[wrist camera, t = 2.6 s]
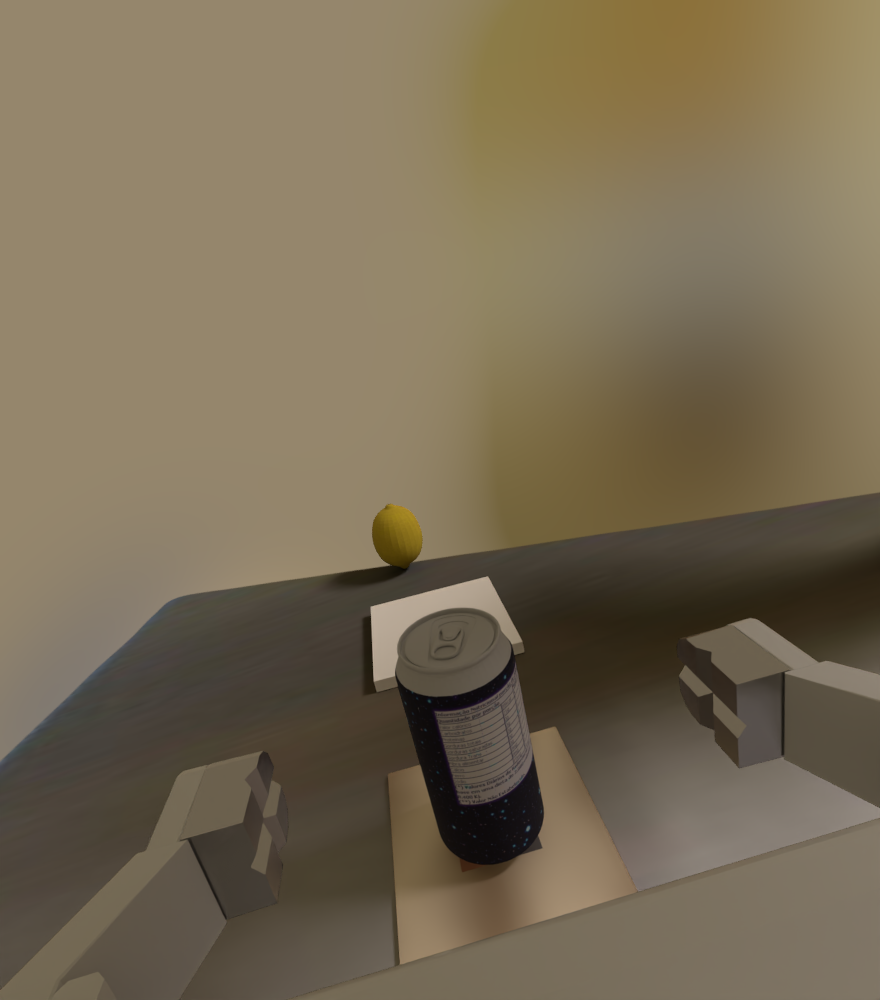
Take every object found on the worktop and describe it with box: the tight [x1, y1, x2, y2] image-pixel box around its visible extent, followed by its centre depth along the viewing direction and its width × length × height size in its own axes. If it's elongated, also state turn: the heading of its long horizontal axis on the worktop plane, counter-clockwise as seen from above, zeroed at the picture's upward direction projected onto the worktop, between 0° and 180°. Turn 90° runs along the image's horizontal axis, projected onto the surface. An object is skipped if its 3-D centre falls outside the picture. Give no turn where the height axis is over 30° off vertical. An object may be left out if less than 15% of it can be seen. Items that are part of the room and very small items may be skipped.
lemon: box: [372, 504, 422, 569], centre depth 60 cm, size 6×6×8 cm
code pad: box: [388, 727, 638, 965], centre depth 28 cm, size 11×11×1 cm
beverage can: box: [395, 608, 544, 865], centre depth 27 cm, size 6×6×12 cm
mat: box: [371, 577, 524, 692], centre depth 47 cm, size 12×12×1 cm
